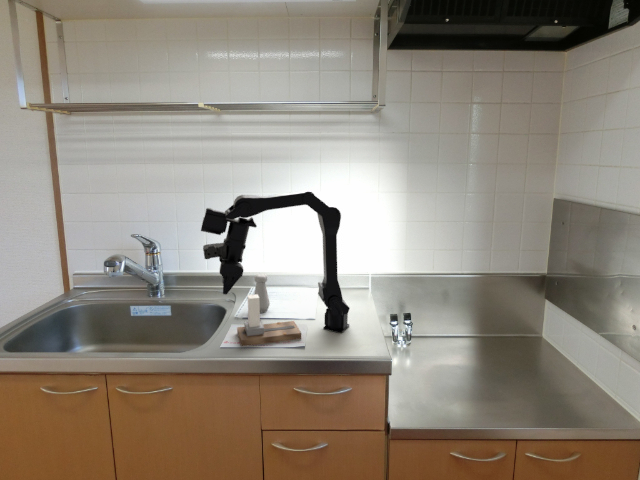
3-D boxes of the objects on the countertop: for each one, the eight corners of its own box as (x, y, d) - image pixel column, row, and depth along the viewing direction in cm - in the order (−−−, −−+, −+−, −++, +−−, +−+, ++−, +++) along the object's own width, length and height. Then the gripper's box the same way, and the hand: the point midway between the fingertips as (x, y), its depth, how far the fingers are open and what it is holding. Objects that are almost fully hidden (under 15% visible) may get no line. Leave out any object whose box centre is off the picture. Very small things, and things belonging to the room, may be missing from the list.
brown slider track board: (293, 326, 142) (293, 320, 141) (301, 338, 133) (301, 332, 133) (237, 333, 136) (237, 326, 136) (241, 346, 128) (241, 339, 128)
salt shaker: (268, 313, 151) (268, 277, 148) (251, 313, 151) (251, 277, 148) (270, 307, 157) (270, 272, 154) (254, 307, 157) (253, 272, 154)
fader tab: (260, 325, 137) (260, 292, 134) (264, 334, 131) (263, 299, 128) (244, 327, 135) (243, 293, 132) (247, 336, 129) (246, 300, 127)
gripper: (208, 225, 134) (198, 274, 137) (207, 240, 117) (195, 295, 119) (244, 233, 137) (233, 280, 140) (249, 248, 120) (236, 302, 122)
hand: (224, 288), depth 130 cm, fingers open, 9 cm apart
